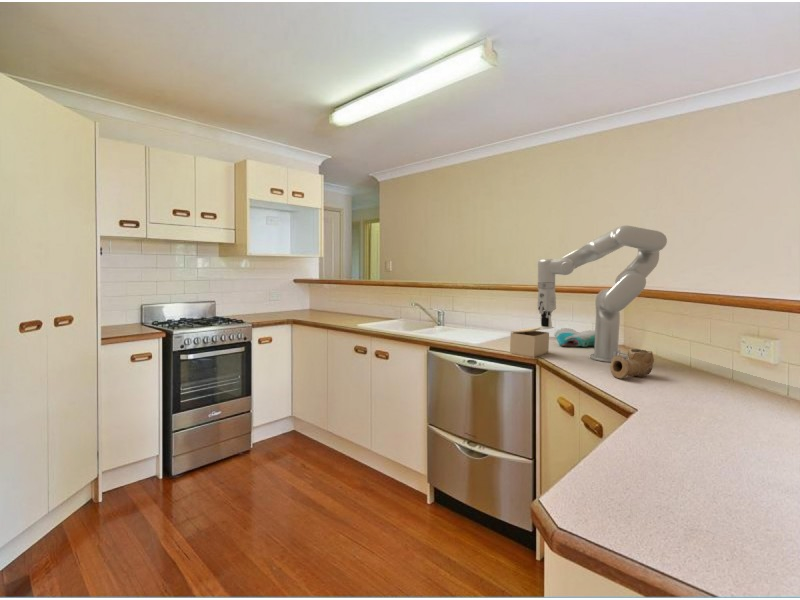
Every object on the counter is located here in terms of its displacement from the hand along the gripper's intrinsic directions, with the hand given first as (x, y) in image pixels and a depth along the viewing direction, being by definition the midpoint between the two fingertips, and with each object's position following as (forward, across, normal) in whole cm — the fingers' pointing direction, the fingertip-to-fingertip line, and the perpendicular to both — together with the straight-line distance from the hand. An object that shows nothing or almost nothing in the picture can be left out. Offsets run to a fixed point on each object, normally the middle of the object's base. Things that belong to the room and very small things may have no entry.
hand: (546, 325), depth 188 cm
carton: (+14, 0, +8) cm, 16 cm away
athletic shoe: (+15, +35, -4) cm, 38 cm away
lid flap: (+2, 0, +6) cm, 6 cm away
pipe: (+15, -11, -38) cm, 43 cm away
